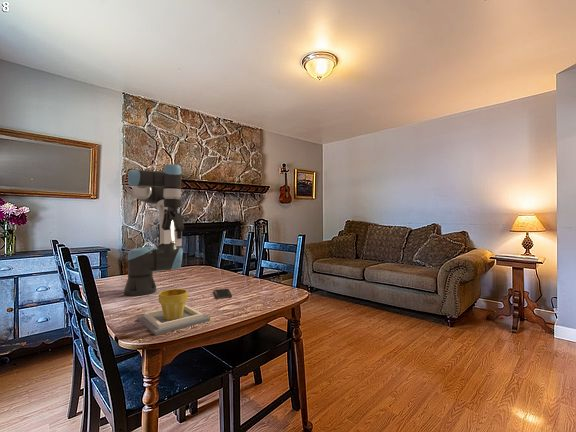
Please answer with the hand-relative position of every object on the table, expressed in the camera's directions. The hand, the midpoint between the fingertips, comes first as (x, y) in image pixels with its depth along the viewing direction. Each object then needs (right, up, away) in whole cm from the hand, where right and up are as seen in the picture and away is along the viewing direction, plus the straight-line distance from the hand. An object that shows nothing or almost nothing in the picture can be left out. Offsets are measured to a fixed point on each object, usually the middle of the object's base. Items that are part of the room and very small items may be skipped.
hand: (172, 245), depth 134 cm
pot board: (+9, -27, -22) cm, 36 cm away
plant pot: (+9, -26, -21) cm, 35 cm away
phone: (+20, -27, +16) cm, 37 cm away
